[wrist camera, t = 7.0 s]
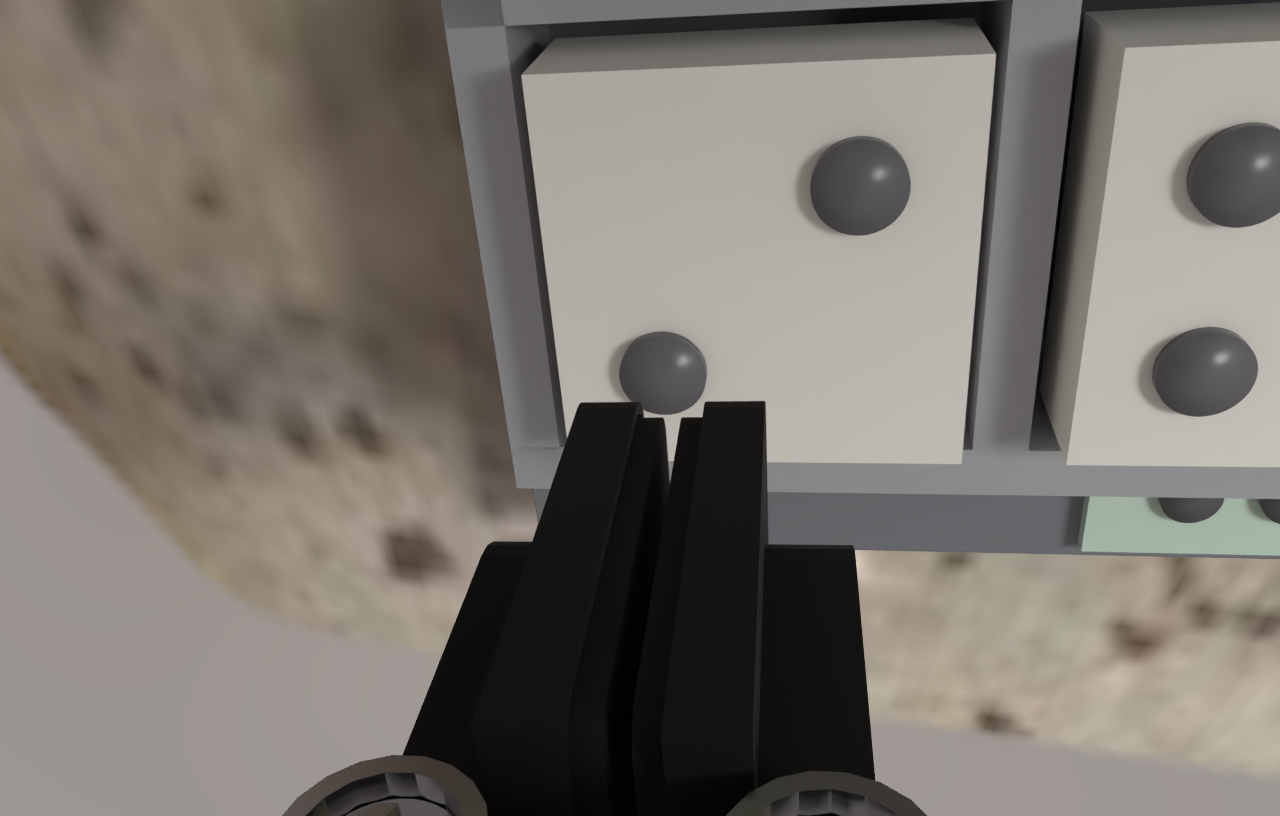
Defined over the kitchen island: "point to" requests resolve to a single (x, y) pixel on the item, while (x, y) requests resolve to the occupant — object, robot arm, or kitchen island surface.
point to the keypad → (1003, 318)
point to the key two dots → (769, 227)
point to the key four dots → (1170, 243)
